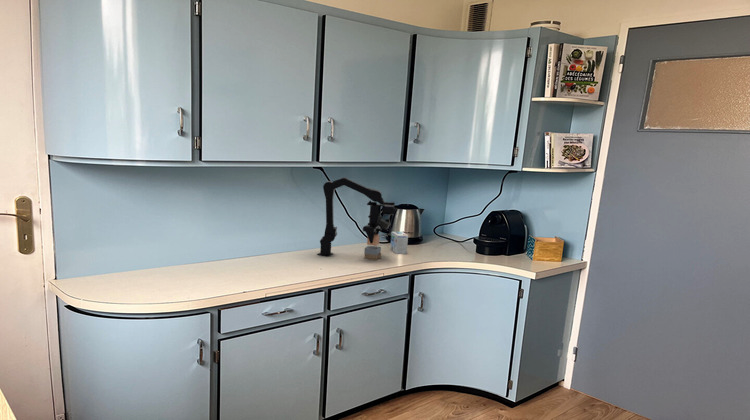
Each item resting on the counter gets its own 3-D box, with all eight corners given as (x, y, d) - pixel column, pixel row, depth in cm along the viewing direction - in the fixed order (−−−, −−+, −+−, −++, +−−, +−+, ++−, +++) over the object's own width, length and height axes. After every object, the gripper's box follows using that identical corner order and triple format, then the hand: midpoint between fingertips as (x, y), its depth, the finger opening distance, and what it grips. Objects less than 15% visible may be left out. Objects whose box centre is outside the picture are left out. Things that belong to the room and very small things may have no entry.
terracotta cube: (375, 245, 264) (376, 236, 263) (367, 244, 266) (367, 235, 265) (379, 244, 269) (379, 234, 268) (370, 242, 270) (370, 233, 270)
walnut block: (376, 260, 264) (376, 255, 264) (364, 258, 266) (364, 253, 266) (381, 258, 271) (381, 252, 270) (369, 256, 273) (369, 250, 273)
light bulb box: (389, 249, 290) (391, 231, 289) (400, 249, 292) (402, 231, 291) (396, 254, 280) (397, 235, 278) (407, 253, 282) (408, 235, 281)
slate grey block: (376, 255, 264) (377, 249, 264) (364, 253, 266) (364, 248, 265) (380, 252, 271) (380, 247, 270) (368, 250, 273) (368, 245, 272)
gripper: (383, 218, 253) (381, 247, 256) (394, 213, 271) (392, 241, 273) (363, 215, 257) (361, 244, 259) (375, 210, 274) (373, 238, 277)
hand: (373, 242), depth 267 cm, fingers closed on terracotta cube, 5 cm apart
